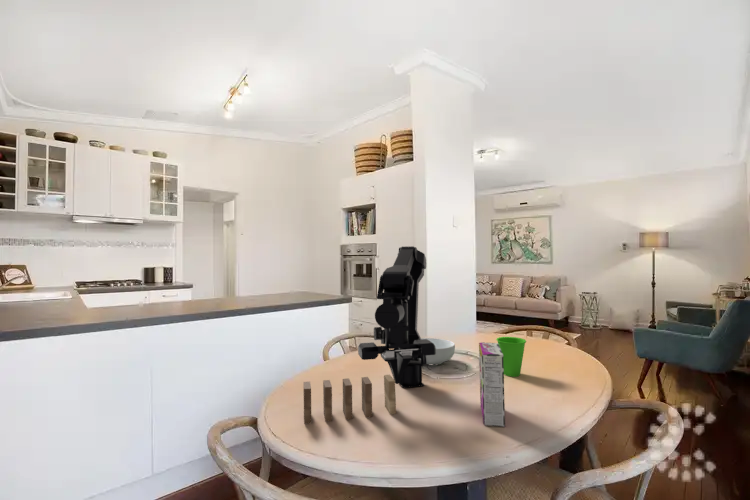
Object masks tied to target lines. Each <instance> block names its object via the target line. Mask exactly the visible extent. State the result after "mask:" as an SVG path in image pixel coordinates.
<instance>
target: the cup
mask: <svg viewBox="0 0 750 500" xmlns="http://www.w3.org/2000/svg"><path fill="white" fill-rule="evenodd" d="M495 341H497V343H498V344H499V346H500V349H501V351H502V353H503V366H504V376H507V377H514V378H517V377H519V376H520V375H521V372H522V365H523V358H524V351H525V346H526V343H527V340H526V339H524V338H523V337H522V338H521V337H517V336H499V337H496V339H495Z"/></svg>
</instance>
